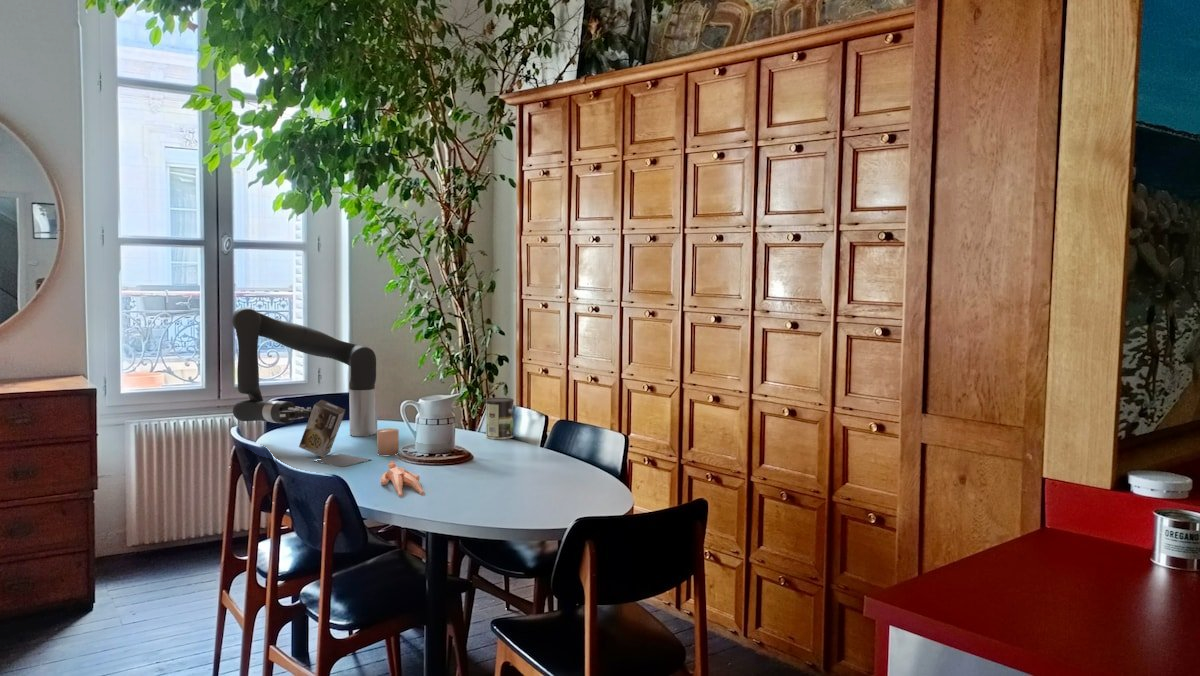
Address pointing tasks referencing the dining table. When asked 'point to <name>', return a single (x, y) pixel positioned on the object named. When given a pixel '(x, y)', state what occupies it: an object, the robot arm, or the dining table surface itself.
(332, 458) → the mat
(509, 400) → the coffee can
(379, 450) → the peach rounded block
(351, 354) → the robot arm
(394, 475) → the male figurine
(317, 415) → the coffee box
